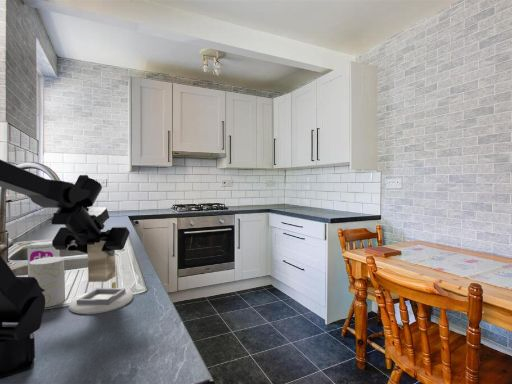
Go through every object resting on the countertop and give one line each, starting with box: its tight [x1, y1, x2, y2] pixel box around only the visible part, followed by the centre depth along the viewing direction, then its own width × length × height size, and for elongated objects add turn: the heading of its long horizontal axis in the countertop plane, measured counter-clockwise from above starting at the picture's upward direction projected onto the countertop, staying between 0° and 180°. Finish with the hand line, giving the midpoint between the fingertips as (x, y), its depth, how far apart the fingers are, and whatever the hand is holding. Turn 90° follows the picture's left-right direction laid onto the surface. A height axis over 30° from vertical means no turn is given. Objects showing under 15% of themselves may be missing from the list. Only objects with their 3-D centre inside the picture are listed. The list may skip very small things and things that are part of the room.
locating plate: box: [68, 281, 133, 315], centre depth 83 cm, size 16×16×4 cm
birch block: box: [86, 241, 117, 283], centre depth 83 cm, size 5×5×13 cm
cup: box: [29, 256, 66, 308], centre depth 83 cm, size 8×8×12 cm
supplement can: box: [27, 240, 61, 277], centre depth 93 cm, size 8×8×15 cm
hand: (104, 254), depth 84 cm, fingers closed on birch block, 5 cm apart
